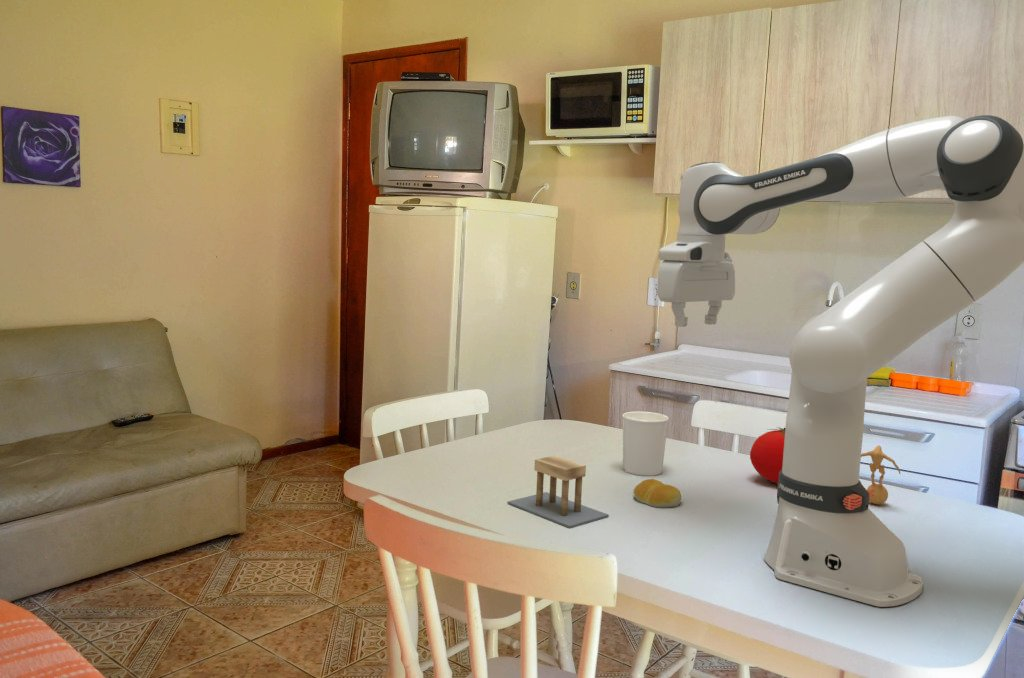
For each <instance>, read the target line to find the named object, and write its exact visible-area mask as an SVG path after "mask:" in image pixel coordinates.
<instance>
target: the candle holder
mask: <svg viewBox="0 0 1024 678" xmlns="http://www.w3.org/2000/svg"><path fill="white" fill-rule="evenodd" d="M669 419H670V418H669V416H668V415H665V414H663V413H659V412H653V411H639V410H638V411H636V410H635V411H628V412H624V413H622V468H623V470H624V472H626V473H629V474H631V475H636V476H643V477H644V476H647V477H652V476H658V475H660V474H661V473H662V471H663V468H664V467H663V466H664V458H665V450H666V441H667V432H668V425H669V421H670V420H669Z"/></svg>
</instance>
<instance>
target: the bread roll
mask: <svg viewBox="0 0 1024 678" xmlns="http://www.w3.org/2000/svg"><path fill="white" fill-rule="evenodd" d="M633 496H634V498H635V500H636V501H638V502H639V503H642V504H647V506H651V507H652V508H653V507H654V508H662V509H665V508H674V507H678V506H679V505H680V503H681V502H682V493H681V491H680V490H679V489H678V488H677V487H676V486H673V485H669V484H665V483H663V482H662V481H660V480H658V479H655V478H649V479H644V480H642V481H640V483H638V484H637V485H636V486H635V487H634V489H633Z"/></svg>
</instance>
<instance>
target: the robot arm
mask: <svg viewBox="0 0 1024 678" xmlns="http://www.w3.org/2000/svg"><path fill="white" fill-rule="evenodd" d="M933 190H942V191H946V194H947V197H948V198H949V199H950V200H951V201H952V203H953V205H954V207H955V210H954V212H953V215H952V216H951V218H950V220H948V222H947V223H946V224H944V225H943V226H942V227H941V228H940V229H938V230H937V231H935V232H934V233H932V234H931V235H928V237H926V238H924V239H923V240H922V241H920V242H919V243H917V244H916V245H914V246H913V247H912V248H911V249H909V250H908V251H906V252H905V253H903V254H902V255H901V256H899V257H898V258H896V259H895V260H893V261H892V262H891V263H889V264H888V265H886V266H885V267H883V268H882V269H881V270H879V271H878V272H876V273H875V274H874V275H872V276H871V277H870V278H868V279H867V280H865V282H863V283H862V284H861V285H858V287H855V289H853V290H852V291H851V292H850V293H848V294H847V295H845V296H844V297H842V298H841V299H840V300H838V301H837V302H836V303H834V304H833V305H832V306H830V307H829V308H828V309H826V310H825V311H824V312H822V313H819V314H816V315H814V316H813V317H810V318H809V319H808V320H806V322H804V323H803V324H802V325H801V327H800V328H799V330H798V331H797V332H796V335H795V336H794V338H793V339H792V341H791V344H790V347H789V351H788V352H789V354H788V355H789V356H788V357H789V364H790V367H791V377H790V386H789V394H788V401H787V402H788V403H787V404H788V405H787V410H786V418H785V419H786V420H785V427H784V428H785V441H784V454H783V467H782V470H781V471H780V472H779V479H778V483H777V490H776V491H777V492H776V499H777V500H776V502H777V510H776V511H777V512H776V516H775V520H774V521H775V522H774V525H773V528H772V529H773V530H772V534H771V537H770V540H769V543H768V546H767V549H766V551H765V553H764V555H763V559H764V561H765V562H766V564H767V565H768V566H770V568H771V569H772V570H774V571H773V573H774V576H775V577H776V579H779V580H781V581H784V582H788V583H792V584H795V585H799V586H803V587H807V588H810V589H813V590H817V591H821V592H825V593H828V594H832V595H835V596H839V597H841V598H846V599H849V600H853V601H858V602H861V603H864V604H867V605H871V606H875V607H879V608H882V607H883V608H885V607H886V608H887V607H896V606H899V605H904V604H906V603H909V602H911V601H914V600H915V599H917V598H918V597H919V596H920V595H921V594H922V592H923V589H924V583H923V579H922V578H921V576H919V575H916V574H914V573H911V572H909V570H908V558H907V552H906V547H905V544H904V543H903V541H902V540H901V539H900V538H899V537H898V536H897V535H896V534H894V532H892V530H890V528H889V527H888V526H887V525H885V524H884V522H883V521H882V520H881V519H879V517H877V515H876V514H875V513H874V512H873V511H872V510H871V509H870V507H869V505H870V501H869V498H871V497H874V495H872V494H873V493H874V491H875V490H874V489H872V490H870V491H867V488H865V486H864V485H863V484H862V482H861V481H860V470H861V458H862V457H861V454H862V447H863V438H864V437H863V436H864V427H865V424H864V423H865V410H866V394H867V393H866V392H867V383H868V381H867V380H868V378H869V377H871V376H872V375H874V374H875V373H876V372H878V371H879V370H880V369H882V368H883V367H884V366H886V365H887V364H889V362H892V361H893V360H894V359H895V358H897V357H898V356H899V355H900V354H902V353H903V352H905V351H906V350H907V349H909V348H910V347H911V346H913V344H915V343H916V342H917V341H919V340H920V339H921V338H922V337H924V336H925V335H927V334H928V333H930V332H931V331H932V330H934V329H935V328H937V327H939V326H940V325H942V324H944V323H945V322H947V321H948V320H949V319H951V318H953V317H954V316H955V315H957V314H959V313H960V312H961V311H963V310H965V309H966V308H968V307H969V306H971V305H972V304H974V303H976V302H977V301H978V300H979V299H981V298H982V297H984V296H985V295H987V294H988V293H989V292H991V291H992V290H994V289H995V288H997V287H998V285H1000V284H1002V283H1003V282H1004V281H1005V279H1007V278H1008V277H1009V276H1011V275H1012V274H1013V273H1014V272H1015V271H1016V270H1017V269H1018V268H1019V267H1020V266H1021V265H1022V264H1023V263H1024V139H1023V137H1022V135H1021V134H1020V132H1019V131H1018V130H1017V129H1016V128H1015V127H1014V126H1013V125H1012V124H1011V123H1009V122H1008V121H1007V120H1005V119H1003V118H1001V117H999V116H996V115H990V114H988V115H987V114H986V115H985V114H983V115H982V114H981V115H975V116H971V117H968V118H964V117H962V116H958V115H947V116H945V115H944V116H938V117H932V118H925V119H921V120H917V121H913V122H908V123H905V124H901V125H897V126H895V127H891V128H888V129H885V130H881V131H879V132H876V133H873V134H871V135H868V136H866V137H863V138H861V139H858V140H855V141H853V142H851V143H849V144H846V145H844V146H841V147H839V148H836V149H834V150H831V151H828V152H825V153H823V154H821V155H818V156H816V157H815V156H814V157H813V158H810V159H807V160H803V161H800V162H796V163H792V164H789V165H788V164H787V165H785V166H781V167H778V168H773V169H771V170H767V171H764V172H761V173H760V172H759V173H757V174H752V175H747V176H745V175H742V174H740V173H738V172H736V171H734V170H732V169H731V168H730V167H728V166H727V165H726V164H725V163H723V162H720V161H710V162H700V163H696V164H694V165H690V166H689V167H688V168H687V169H686V170H685V171H684V173H683V176H682V178H681V182H680V189H679V194H678V195H679V197H678V208H677V209H678V210H677V211H678V212H677V213H678V217H679V226H678V229H677V232H676V240H675V241H672V242H671V243H670V244H667V245H665V246H663V247H661V248H660V249H659V251H658V259H659V260H660V261H661V263H660V264H659V266H658V272H657V284H656V285H657V287H656V289H657V290H656V292H657V297H658V299H659V301H660V302H664V303H671V310H672V313H673V316H674V325H675V327H678V328H679V327H680V328H685V327H687V326H688V321H689V319H688V318H689V317H688V316H687V317H686V314H685V309H686V305H687V304H686V303H691V302H692V303H694V302H696V303H697V302H707V305H708V306H709V308H708V311H707V314H704V324H705V325H711V326H712V325H716V324H717V323H718V322H717V321H718V315H719V313H720V311H721V308H722V305H723V304H722V303H723V301H732V300H733V299H734V297H735V294H736V275H735V273H736V271H735V266H734V264H733V259H732V257H731V256H730V254H729V253H728V252H725V251H726V250H725V249H726V235H728V234H730V235H747V236H748V235H751V236H752V235H757V234H761V233H763V232H766V231H768V230H769V229H771V227H773V226H774V225H775V223H776V221H777V219H778V218H779V215H780V211H781V210H780V209H781V208H786V207H789V206H792V205H793V206H794V205H797V204H801V203H806V202H812V201H814V202H815V201H833V202H845V203H853V204H873V203H875V204H876V203H881V202H889V201H894V200H899V199H903V198H907V197H910V196H915V195H917V194H921V193H925V192H928V191H933Z"/></svg>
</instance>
